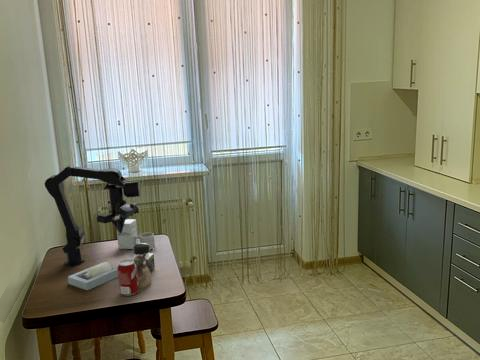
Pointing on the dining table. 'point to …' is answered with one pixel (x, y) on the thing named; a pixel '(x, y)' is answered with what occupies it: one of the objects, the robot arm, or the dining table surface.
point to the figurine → (142, 271)
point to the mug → (146, 239)
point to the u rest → (93, 282)
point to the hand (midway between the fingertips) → (120, 232)
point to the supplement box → (127, 235)
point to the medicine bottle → (142, 249)
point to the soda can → (128, 277)
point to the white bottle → (97, 270)
